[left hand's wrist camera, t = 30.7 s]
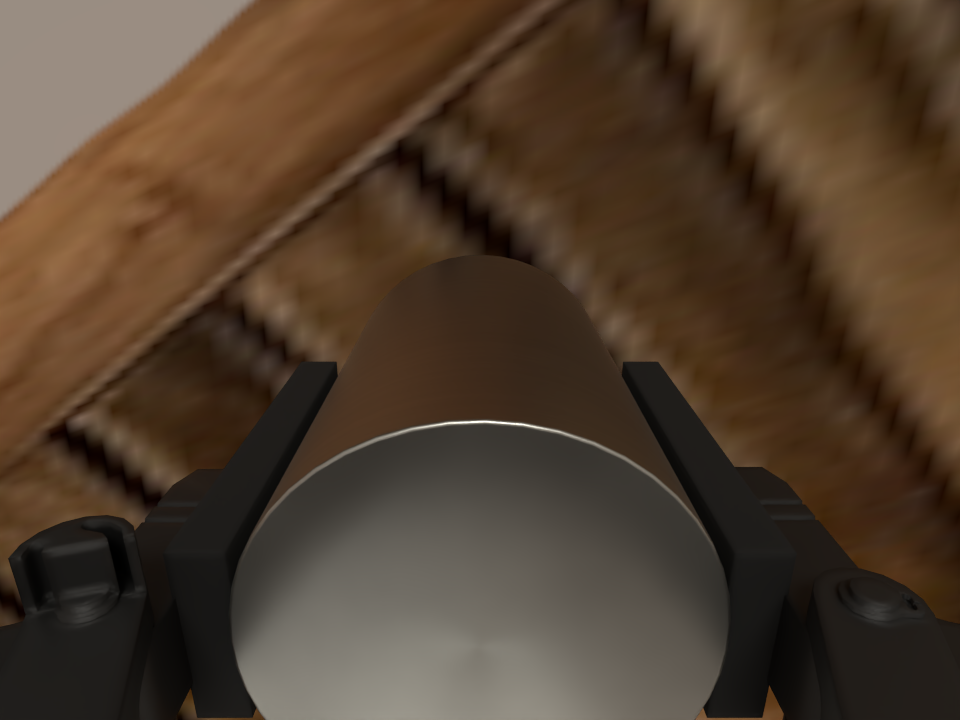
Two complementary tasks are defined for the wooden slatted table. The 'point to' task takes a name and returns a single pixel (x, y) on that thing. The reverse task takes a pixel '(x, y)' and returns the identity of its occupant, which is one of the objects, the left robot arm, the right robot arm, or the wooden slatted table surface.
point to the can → (479, 527)
